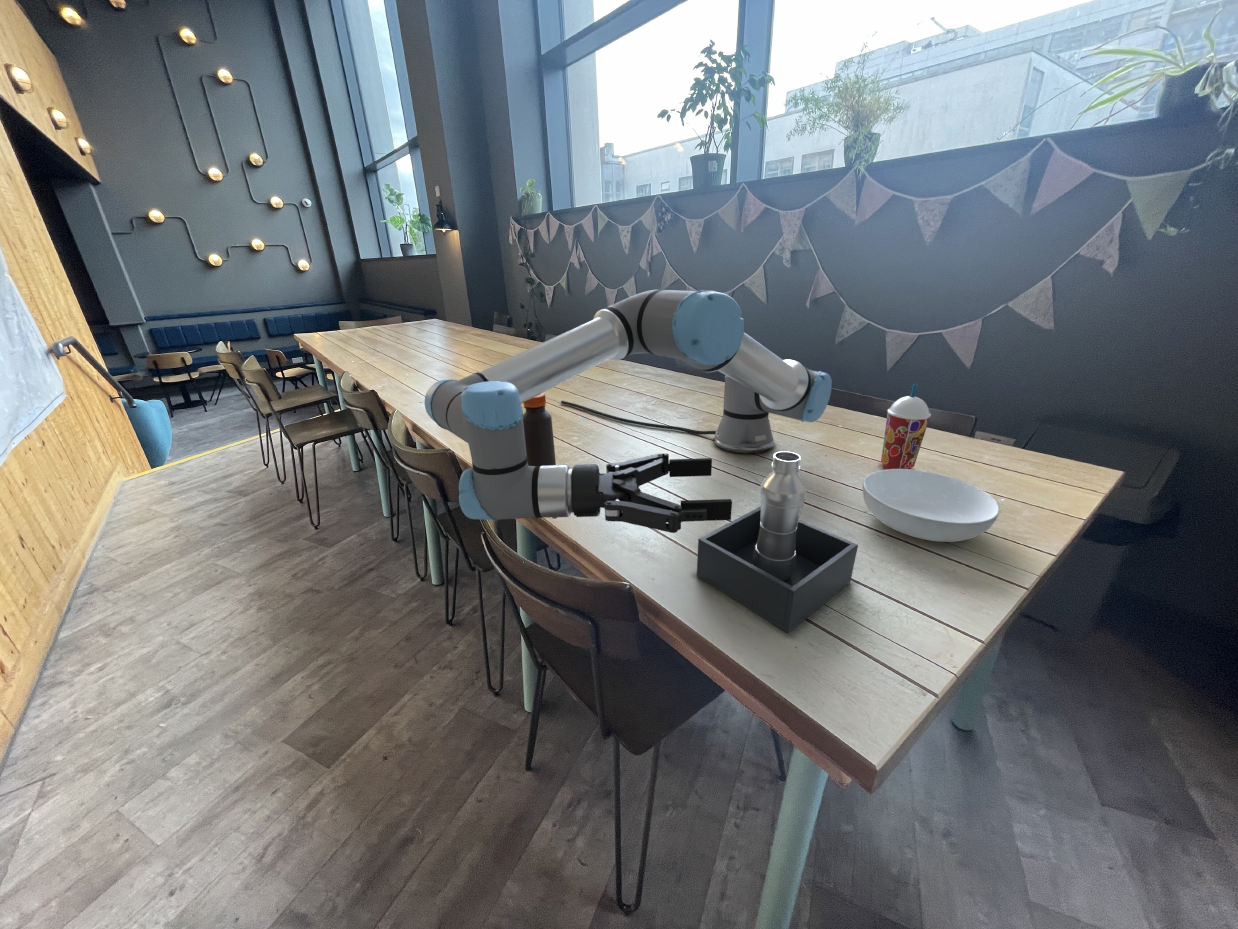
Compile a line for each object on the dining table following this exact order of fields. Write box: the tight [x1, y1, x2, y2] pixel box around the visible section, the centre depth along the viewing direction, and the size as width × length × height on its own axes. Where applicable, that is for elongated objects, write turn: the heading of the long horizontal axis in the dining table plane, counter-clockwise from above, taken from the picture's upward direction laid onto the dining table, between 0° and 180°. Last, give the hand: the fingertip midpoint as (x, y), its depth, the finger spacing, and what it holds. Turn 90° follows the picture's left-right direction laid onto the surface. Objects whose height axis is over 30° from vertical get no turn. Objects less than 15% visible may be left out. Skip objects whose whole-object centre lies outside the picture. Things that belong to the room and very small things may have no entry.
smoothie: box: [880, 383, 932, 470], centre depth 106 cm, size 8×8×20 cm
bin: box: [696, 505, 859, 634], centre depth 72 cm, size 17×17×7 cm
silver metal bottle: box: [752, 451, 807, 581], centre depth 69 cm, size 6×7×20 cm
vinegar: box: [522, 392, 557, 466], centre depth 107 cm, size 7×7×20 cm
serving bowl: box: [862, 468, 1001, 543], centre depth 85 cm, size 21×21×7 cm
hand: (720, 486), depth 67 cm, fingers open, 13 cm apart
